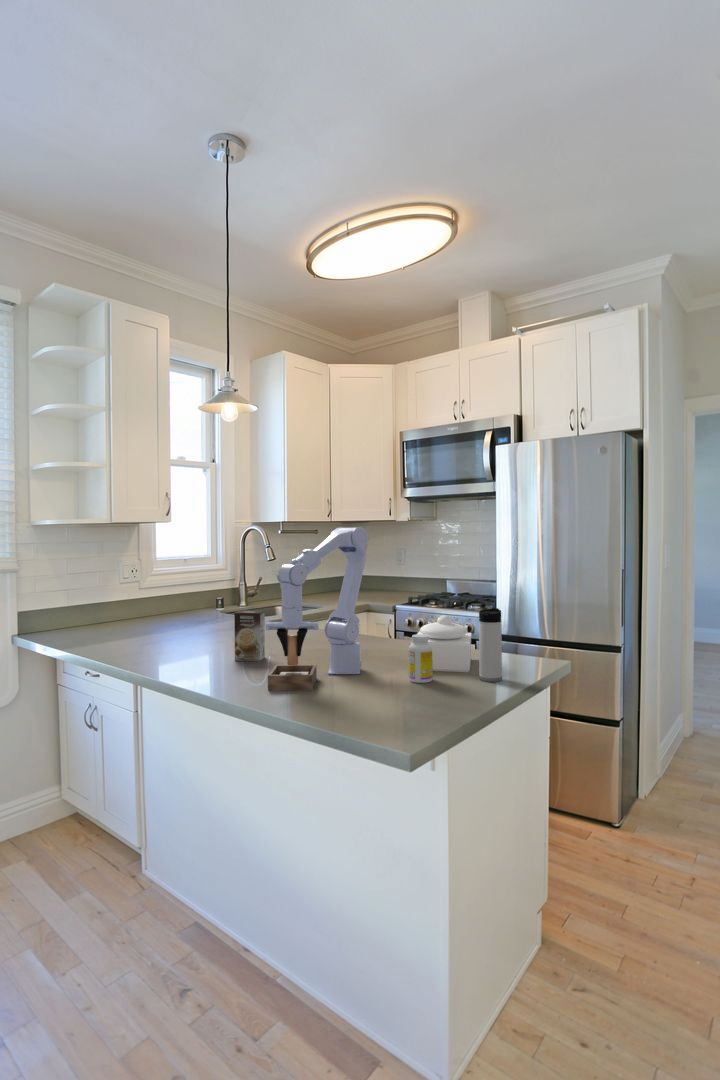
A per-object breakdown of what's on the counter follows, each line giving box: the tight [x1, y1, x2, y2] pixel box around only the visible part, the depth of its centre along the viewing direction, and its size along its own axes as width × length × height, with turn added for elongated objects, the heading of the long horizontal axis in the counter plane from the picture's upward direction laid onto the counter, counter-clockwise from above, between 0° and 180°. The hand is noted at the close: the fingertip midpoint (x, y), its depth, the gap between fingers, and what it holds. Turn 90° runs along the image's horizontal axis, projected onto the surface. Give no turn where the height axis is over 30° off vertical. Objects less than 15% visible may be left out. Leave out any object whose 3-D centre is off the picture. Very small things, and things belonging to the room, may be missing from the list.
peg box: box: [267, 664, 318, 691], centre depth 162 cm, size 12×12×4 cm
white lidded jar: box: [410, 614, 472, 673], centre depth 184 cm, size 18×18×16 cm
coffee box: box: [233, 609, 266, 662], centre depth 194 cm, size 9×6×16 cm
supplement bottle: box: [408, 633, 434, 684], centre depth 164 cm, size 7×7×13 cm
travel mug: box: [478, 607, 503, 683], centre depth 164 cm, size 6×7×20 cm
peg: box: [286, 634, 299, 665], centre depth 162 cm, size 3×3×8 cm
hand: (292, 655), depth 162 cm, fingers closed on peg, 3 cm apart
